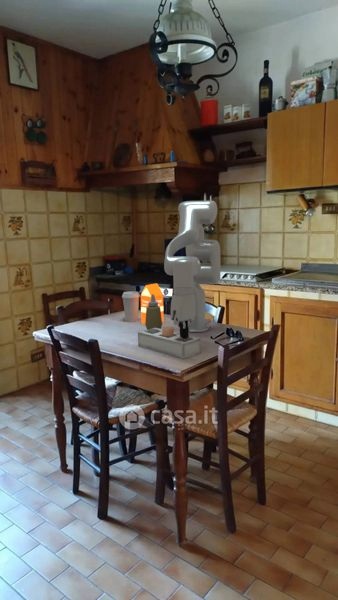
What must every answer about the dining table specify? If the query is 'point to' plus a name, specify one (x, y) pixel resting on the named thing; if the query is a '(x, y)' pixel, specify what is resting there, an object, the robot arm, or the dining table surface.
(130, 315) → the coffee cup
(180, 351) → the grey rectangular box
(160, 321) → the squeeze bottle
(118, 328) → the dining table surface
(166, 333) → the middle knob
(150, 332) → the knob
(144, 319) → the orange juice
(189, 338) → the knob
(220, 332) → the dining table surface
